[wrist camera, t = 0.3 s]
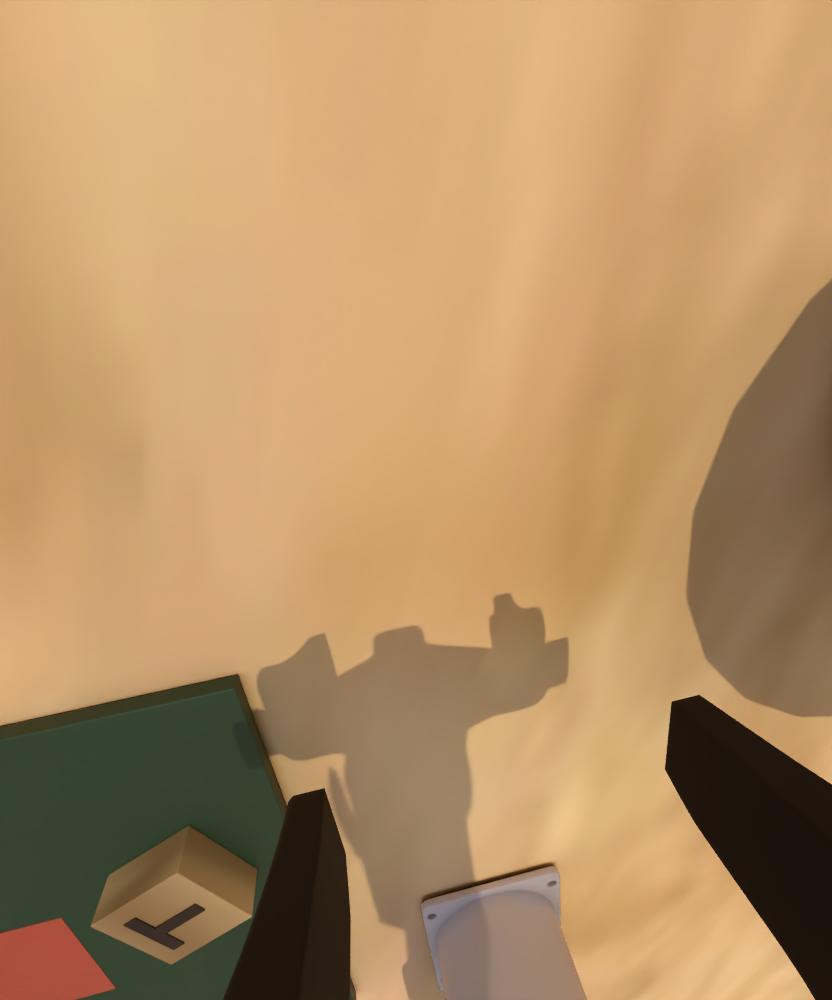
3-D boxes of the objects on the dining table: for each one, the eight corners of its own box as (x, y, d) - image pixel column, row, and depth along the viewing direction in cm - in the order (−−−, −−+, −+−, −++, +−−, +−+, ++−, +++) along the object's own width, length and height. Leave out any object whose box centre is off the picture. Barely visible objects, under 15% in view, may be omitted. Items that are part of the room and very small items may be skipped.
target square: (116, 986, 26) (115, 988, 26) (-20, 1022, 25) (-21, 1025, 25) (62, 915, 23) (61, 918, 23) (-92, 954, 22) (-94, 957, 22)
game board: (356, 992, 31) (356, 1009, 30) (-100, 1121, 29) (-111, 1143, 28) (237, 673, 20) (234, 688, 19) (-518, 838, 18) (-553, 862, 17)
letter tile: (188, 824, 22) (176, 875, 20) (257, 868, 24) (252, 919, 22) (108, 874, 22) (88, 929, 20) (182, 914, 24) (170, 967, 22)
